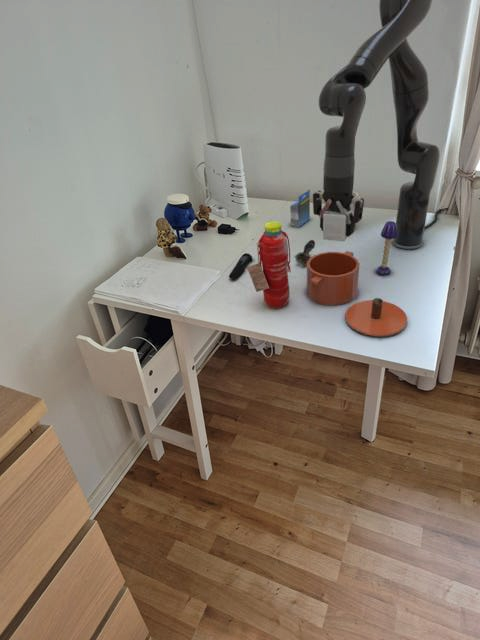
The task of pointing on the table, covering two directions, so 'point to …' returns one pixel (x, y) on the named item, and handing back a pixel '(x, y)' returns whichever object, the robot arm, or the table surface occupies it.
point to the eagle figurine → (306, 252)
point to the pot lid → (376, 317)
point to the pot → (332, 278)
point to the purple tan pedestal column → (387, 246)
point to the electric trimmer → (240, 265)
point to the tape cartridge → (300, 210)
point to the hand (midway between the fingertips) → (336, 232)
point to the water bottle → (272, 266)
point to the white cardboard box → (334, 226)
